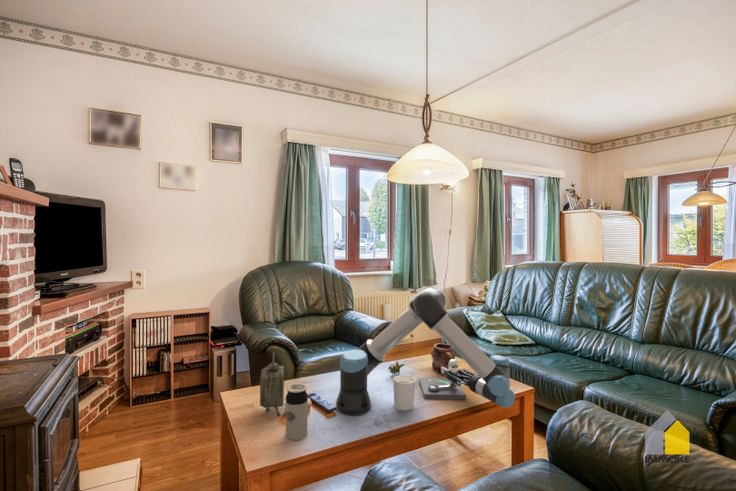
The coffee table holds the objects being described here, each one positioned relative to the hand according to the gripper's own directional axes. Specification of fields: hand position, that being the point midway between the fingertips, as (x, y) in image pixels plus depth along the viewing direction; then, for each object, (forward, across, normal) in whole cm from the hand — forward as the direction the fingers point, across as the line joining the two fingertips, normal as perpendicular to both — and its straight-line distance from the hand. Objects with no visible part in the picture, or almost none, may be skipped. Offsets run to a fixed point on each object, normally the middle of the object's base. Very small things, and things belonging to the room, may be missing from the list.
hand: (445, 368), depth 183 cm
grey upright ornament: (+15, -81, -10) cm, 83 cm away
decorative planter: (+18, +14, -10) cm, 25 cm away
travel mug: (-7, -78, -10) cm, 79 cm away
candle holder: (-7, -29, -10) cm, 31 cm away
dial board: (-1, -4, -10) cm, 10 cm away
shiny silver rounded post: (-4, -5, -7) cm, 10 cm away
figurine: (+24, -12, -10) cm, 29 cm away
